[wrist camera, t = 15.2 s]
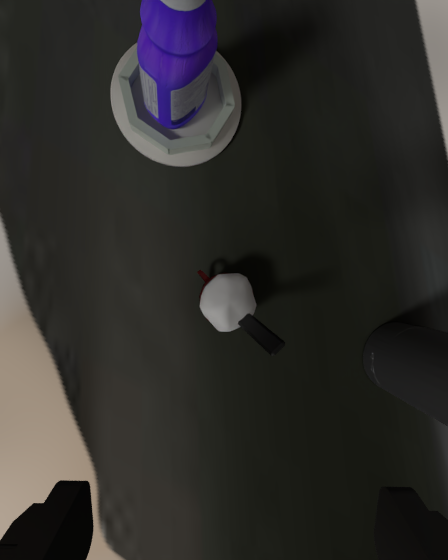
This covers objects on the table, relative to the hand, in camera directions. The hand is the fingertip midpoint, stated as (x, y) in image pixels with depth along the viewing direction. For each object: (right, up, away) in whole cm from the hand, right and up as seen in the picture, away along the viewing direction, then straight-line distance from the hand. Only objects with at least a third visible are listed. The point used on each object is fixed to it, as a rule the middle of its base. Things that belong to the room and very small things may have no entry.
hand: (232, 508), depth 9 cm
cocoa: (0, +4, +31) cm, 31 cm away
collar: (-6, +27, +29) cm, 40 cm away
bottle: (-6, +27, +29) cm, 40 cm away
